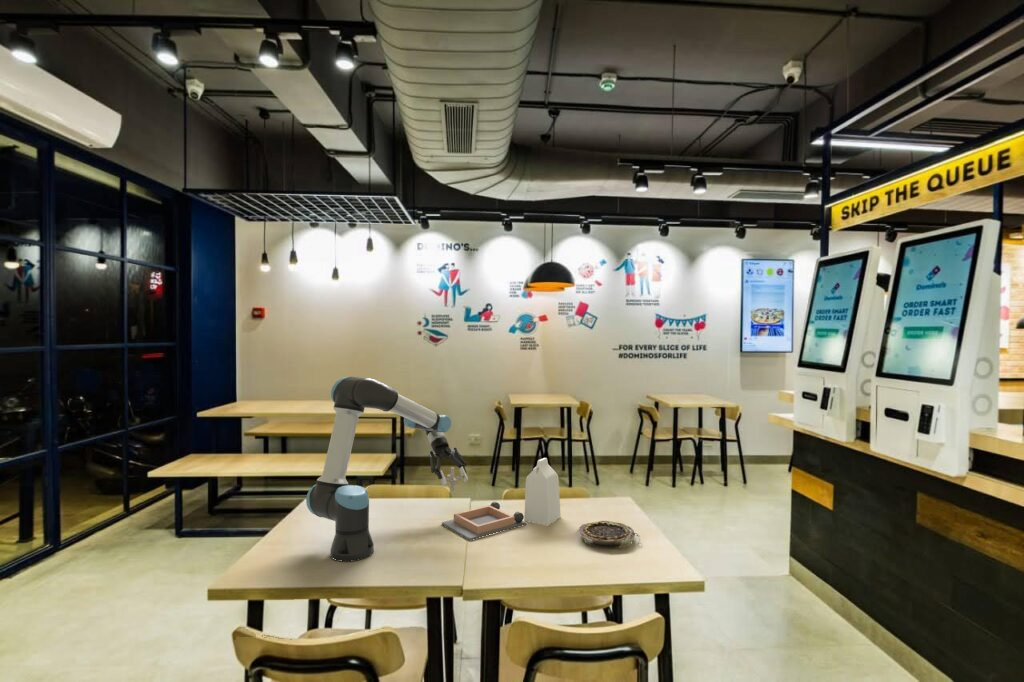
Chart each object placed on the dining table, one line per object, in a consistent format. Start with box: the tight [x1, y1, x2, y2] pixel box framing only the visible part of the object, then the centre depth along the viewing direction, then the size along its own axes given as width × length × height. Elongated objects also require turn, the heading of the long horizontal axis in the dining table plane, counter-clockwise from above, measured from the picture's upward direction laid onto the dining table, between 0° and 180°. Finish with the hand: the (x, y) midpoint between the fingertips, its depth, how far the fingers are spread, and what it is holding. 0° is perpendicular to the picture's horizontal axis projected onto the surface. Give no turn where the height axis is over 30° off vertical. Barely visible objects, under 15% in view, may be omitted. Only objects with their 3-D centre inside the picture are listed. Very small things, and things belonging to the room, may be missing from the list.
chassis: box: [441, 501, 527, 541], centre depth 212 cm, size 28×22×5 cm
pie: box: [578, 520, 643, 549], centre depth 197 cm, size 28×27×5 cm
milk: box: [523, 457, 562, 527], centre depth 219 cm, size 12×12×26 cm
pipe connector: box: [444, 466, 464, 492], centre depth 224 cm, size 10×10×10 cm
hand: (455, 482), depth 221 cm, fingers closed on pipe connector, 10 cm apart
